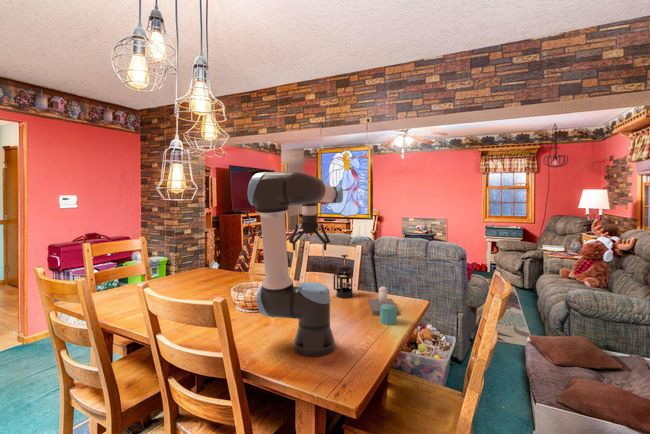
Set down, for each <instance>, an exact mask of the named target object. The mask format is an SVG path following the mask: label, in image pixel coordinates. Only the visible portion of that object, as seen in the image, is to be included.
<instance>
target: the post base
mask: <svg viewBox="0 0 650 434" xmlns="http://www.w3.org/2000/svg"><path fill="white" fill-rule="evenodd" d="M368 304H369V307H370V311H371V315H373V316H380V305H382V304H393V305H395V306H396V309H397V316H399V309H398V307H397V305H396V303H395V302H394V299H393V298H388V289H387V287H385V286H381V287H379V288H378V298H369V299H368Z"/></svg>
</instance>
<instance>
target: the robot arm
mask: <svg viewBox="0 0 650 434" xmlns="http://www.w3.org/2000/svg"><path fill="white" fill-rule="evenodd" d="M247 200H248V202H249V204H250V205H251V206H253V207H254V208H255V213H256V214H258V215H259V217H260V226H261V228H260V229H261V239H262V252H263V264H264V276H265V279H264V280H263V281H262V282H261V285H260V286H259V287H258V290H257V292H256V294H257V296H256V305H257V309H258V311H259V312H260V314H261V315H263V316H265V317H270V318H279V319H280V318H281V319H293V320H294V319H295V320H298V327H297V331H296V334H295V337H294V342H293V349H294V351H295V352H296V353H297V354H299V355H302V356H304V357H311V358H312V357H322V356H326V355H329V354H331V353H332V352H333V351H334V350H335V348H336V345H335V344H336V340H335V338H334V333H333V331H332V328H331V297H330V296H331V295H330V289H329V288H328V287H327V286H326V285H324V284H321V283H319V282H313V281H304V282H301V283H298V285H297V286H295V285H294V280H293V278H291V276H289V261H288V260H289V259H288V247H287V245H288V243H287V230H286V229H287V228H286V213H287V212H288V211H289V210H290V208H289V206H290V207H291V206H301V214H302V216H301V224H298V223H297V224H296V225H295V229H294V231H293V233H292V235H291V237H290V239H289V244H292V250H293V251H294V256H295V258H298V243H297V242H298V241H299V239H301V238H302V237H303V235H304V234H315V235H316V236H317V237H318V238H319V239H320V240H321V242H322V258H325V251H327V244H330V243H331V239H329V236H328V235H327V232H326V230H325V228H324V224H323V223H321V224H318V215H317V214H318V204H341V203H343V201H344V189H343V187H342V186H331V185H329V184H326V183H324V181H323V180H322V179H320V178H318V177H316V176H314V175H311V174H309V173H304V172H298V171H270V172H269V171H264V172H257V173H254V175H252V177H251V178H250V180H249V183H248V187H247ZM300 228H301V229H302V231H301V232H300V233H299V234H298V236H297V237H296V238H295V236H296V234H297V232H298V230H300ZM318 228H319V229H320V230H321V232H322V234H323V236H324V237H323V236H322V234H320V233H319V231H318V230H317V229H318ZM294 238H295V240H294ZM324 238H325V239H326V240H325V239H324Z"/></svg>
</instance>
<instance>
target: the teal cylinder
mask: <svg viewBox="0 0 650 434" xmlns="http://www.w3.org/2000/svg"><path fill="white" fill-rule="evenodd" d="M395 305H396V304H395ZM395 305H393V304H382V305H380V315H379V322H380V323H381V324H382V325H387V326H392V325H396V324H397V316H398V315H397V309H398V308H397V309H396V307H397V305H396V306H395Z"/></svg>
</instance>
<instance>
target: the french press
mask: <svg viewBox="0 0 650 434" xmlns="http://www.w3.org/2000/svg"><path fill="white" fill-rule="evenodd" d="M340 257H343V259H344V260H343V264H337V265H336V270H337V272H339V273H334V274H333V290H334V291H336V294H335V296H336V298H338V299H351V298H353V297H354V294H353V293H354V292H353V277H354V276H353V273H351V272H350V273H349V272H348V271H350V270H352V268H353V267H354V266H353V265H352V264H346V261H345V260H346V258H347V257H349V255H348V254H342V255H340Z"/></svg>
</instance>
